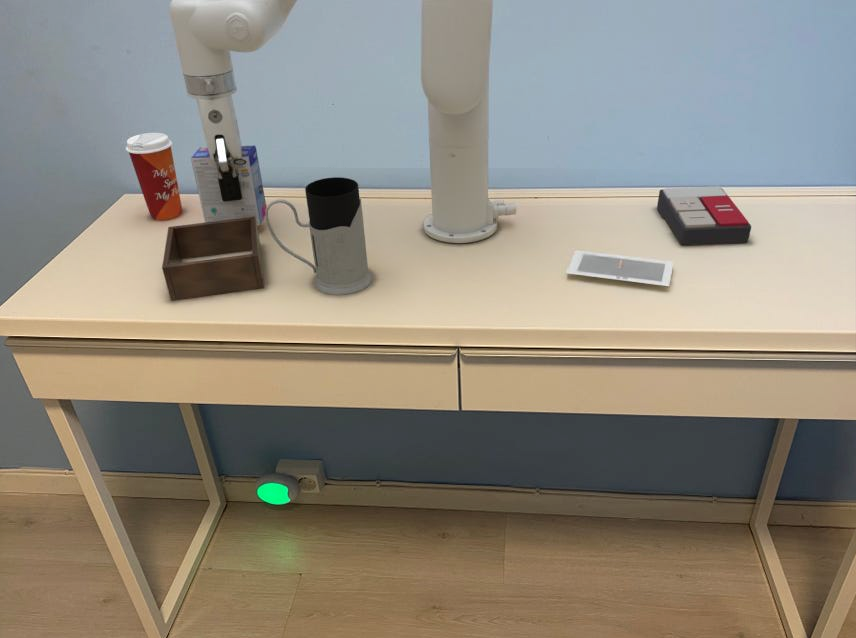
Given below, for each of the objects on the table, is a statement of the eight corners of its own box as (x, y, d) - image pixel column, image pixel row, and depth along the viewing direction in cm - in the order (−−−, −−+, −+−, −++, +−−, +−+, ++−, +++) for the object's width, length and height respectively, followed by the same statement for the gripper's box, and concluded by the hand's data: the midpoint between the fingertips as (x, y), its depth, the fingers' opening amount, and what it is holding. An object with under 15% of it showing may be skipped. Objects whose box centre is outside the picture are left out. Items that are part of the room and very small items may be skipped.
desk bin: (260, 246, 125) (255, 216, 122) (264, 288, 113) (257, 255, 110) (176, 257, 123) (168, 226, 119) (171, 300, 111) (161, 267, 108)
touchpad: (575, 256, 119) (576, 244, 118) (672, 268, 115) (674, 255, 113) (565, 279, 113) (566, 266, 111) (668, 292, 109) (670, 279, 107)
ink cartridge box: (269, 212, 132) (254, 130, 124) (262, 225, 128) (247, 142, 119) (213, 213, 132) (195, 132, 124) (205, 226, 128) (185, 143, 119)
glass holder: (374, 291, 111) (364, 195, 103) (277, 301, 110) (259, 205, 101) (370, 264, 118) (360, 173, 110) (279, 273, 117) (262, 181, 108)
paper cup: (175, 223, 134) (155, 146, 126) (136, 221, 135) (114, 144, 127) (196, 206, 140) (178, 132, 132) (158, 204, 141) (139, 130, 133)
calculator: (684, 225, 118) (659, 185, 130) (680, 249, 121) (656, 207, 133) (753, 222, 119) (722, 182, 130) (747, 246, 121) (717, 205, 133)
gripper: (235, 95, 111) (256, 209, 121) (234, 68, 125) (253, 172, 135) (183, 100, 109) (208, 215, 119) (188, 71, 123) (210, 176, 133)
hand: (232, 191), depth 127 cm, fingers closed on ink cartridge box, 6 cm apart
